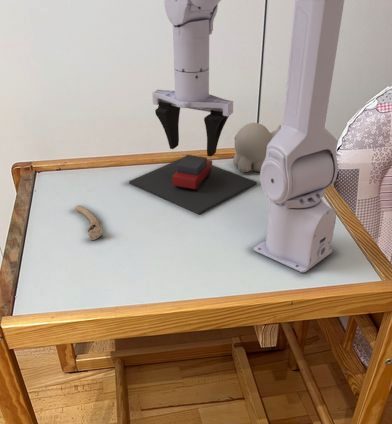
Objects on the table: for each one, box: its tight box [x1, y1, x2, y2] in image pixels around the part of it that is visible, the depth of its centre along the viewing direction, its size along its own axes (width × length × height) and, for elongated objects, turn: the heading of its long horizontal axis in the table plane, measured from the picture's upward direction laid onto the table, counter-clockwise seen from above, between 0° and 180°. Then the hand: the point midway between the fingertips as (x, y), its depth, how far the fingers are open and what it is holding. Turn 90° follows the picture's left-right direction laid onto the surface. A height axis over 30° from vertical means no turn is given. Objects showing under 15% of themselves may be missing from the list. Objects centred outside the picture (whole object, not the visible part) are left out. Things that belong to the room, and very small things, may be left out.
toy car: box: [172, 154, 213, 190], centre depth 97 cm, size 9×4×4 cm
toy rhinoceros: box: [232, 122, 282, 173], centre depth 101 cm, size 7×12×8 cm, turn 99°
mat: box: [128, 157, 257, 215], centre depth 98 cm, size 18×16×1 cm
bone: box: [75, 205, 103, 241], centre depth 87 cm, size 3×11×2 cm, turn 22°
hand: (192, 150), depth 94 cm, fingers open, 7 cm apart
